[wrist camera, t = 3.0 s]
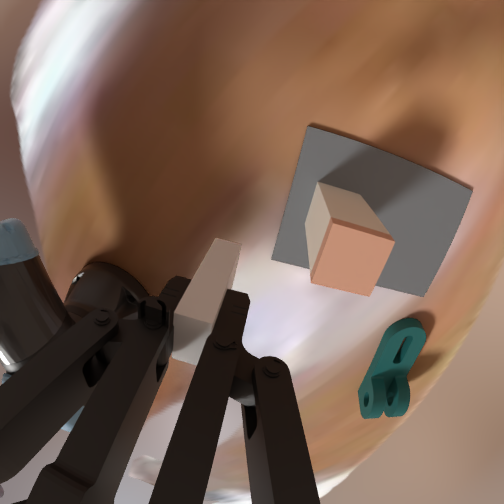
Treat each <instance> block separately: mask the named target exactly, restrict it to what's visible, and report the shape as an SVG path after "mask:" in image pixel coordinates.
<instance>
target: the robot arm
mask: <svg viewBox="0 0 504 504" xmlns="http://www.w3.org/2000/svg"><path fill="white" fill-rule="evenodd" d="M241 245H242V244H239V243H235V242H231V241H227V240H223V239H219V238H215V239H214V241H213V243H212V245H211V246H210V248H209V250H208V252H207V253H206V255H205V257H204V259H203V261H202V262H201V264H200V266H199V268H198V269H197V271H196V273H195V275H194V277H193V278H192V280H191V279H187V278H184V277H180V276H175V277H174V278H172V279H170V280H169V281H168V283H167V284H166V286H165V288H164V289H163V290H162V292H161V293H160V295H159V297H155V296H149V295H148V294H147V292H146V291H145V289H144V288H143V287H142V286H141V285H140V283H139V282H138V281H137V280H136V279H134V278H133V277H132V276H131V275H130V274H128V273H127V272H125V271H124V270H122V269H120V268H118V267H116V266H114V265H111V264H108V263H102V262H96V263H91V264H89V265H87V266H85V267H84V268H83V269H82V270H81V271H80V272H79V273H78V274H77V275H76V276H75V278H74V279H73V281H72V284H71V286H70V288H69V291H68V293H67V295H66V298H65V300H64V303H63V302H62V301H61V299H60V297H59V295H58V293H57V291H56V289H55V287H54V285H53V284H52V282H51V280H50V278H49V276H48V274H47V271H46V269H45V267H44V265H43V263H42V261H41V259H40V256H39V252H38V249H37V248H36V247H35V246H34V244H33V242H32V240H31V238H30V236H29V233H28V231H27V229H26V227H25V225H24V224H23V223H22V222H21V221H20V220H18V219H15V218H9V219H6V220H3V221H0V363H1V364H2V366H3V367H4V368H5V370H6V372H7V373H4V374H3V378H2V385H1V386H0V484H1V483H3V482H5V481H8V480H9V479H10V478H12V477H14V476H15V475H16V474H17V473H18V472H19V471H21V470H22V469H23V468H24V467H25V465H26V464H27V463H28V462H29V461H30V460H31V459H32V458H33V457H34V456H35V455H36V454H37V453H38V452H39V451H40V450H41V449H42V447H44V446H45V444H46V443H47V442H48V441H49V440H50V439H51V438H52V437H53V436H54V435H55V434H56V433H57V432H58V431H59V430H60V429H62V430H65V431H68V432H70V434H69V436H68V438H67V440H66V442H65V444H64V446H63V447H62V449H61V451H60V453H59V456H58V457H57V459H56V461H55V462H53V463H51V464H48V465H46V466H45V467H44V468H43V469H42V470H41V472H40V474H39V476H38V478H37V480H36V482H35V484H34V486H33V488H32V491H31V493H30V495H29V497H28V499H27V500H23V501H20V502H16V503H13V504H114V498H115V495H116V492H117V490H118V487H119V485H120V482H121V479H122V477H123V474H124V472H125V469H126V467H127V464H128V462H129V459H130V456H131V454H132V452H133V449H134V447H135V444H136V442H137V439H138V437H139V434H140V432H141V430H142V427H143V425H144V422H145V420H146V418H147V415H148V413H149V410H150V408H151V406H152V403H153V401H154V399H155V396H156V394H157V392H158V389H159V387H160V385H161V382H162V380H163V378H164V375H165V373H166V371H167V368H168V364H169V357H170V355H171V353H172V358H174V359H177V360H180V361H184V362H187V363H190V364H194V365H197V367H196V369H195V372H194V375H193V378H192V380H191V383H190V386H189V389H188V392H187V394H186V397H185V400H184V403H183V406H182V409H181V411H180V414H179V417H178V420H177V423H176V426H175V428H174V431H173V434H172V437H171V440H170V443H169V446H168V448H167V451H166V455H165V457H164V460H163V463H162V466H161V469H160V472H159V475H158V477H157V480H156V483H155V486H154V489H153V492H152V495H151V498H150V501H149V504H203V500H204V496H205V492H206V488H207V484H208V480H209V476H210V472H211V468H212V464H213V460H214V456H215V452H216V448H217V443H218V439H219V435H220V431H221V427H222V422H223V419H224V415H225V410H226V406H227V402H228V397H231V398H233V399H234V400H236V401H238V402H240V403H241V408H242V418H243V428H244V438H245V447H246V456H247V465H248V474H249V483H250V491H251V499H252V504H320V500H319V496H318V491H317V487H316V482H315V478H314V473H313V469H312V465H311V460H310V456H309V452H308V447H307V443H306V439H305V434H304V430H303V426H302V421H301V417H300V413H299V409H298V404H297V400H296V396H295V392H294V387H293V383H292V379H291V375H290V371H289V368H288V366H287V364H286V363H285V362H283V361H282V360H281V359H279V358H277V357H272V356H266V357H262V358H260V359H259V358H257V357H255V356H253V355H251V354H250V353H248V352H247V351H246V350H245V348H244V346H243V344H242V336H243V332H244V327H245V323H246V318H247V314H248V310H249V305H250V299H249V297H248V294H246V293H242V292H238V291H234V290H231V288H232V285H233V281H234V277H235V272H236V268H237V263H238V259H239V254H240V250H241ZM3 494H4V491H3V488H2V486H1V485H0V497H2V496H3Z"/></svg>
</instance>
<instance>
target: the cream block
mask: <svg viewBox="0 0 504 504" xmlns="http://www.w3.org/2000/svg"><path fill="white" fill-rule="evenodd" d="M305 229H306V238H307V247H308V257H309V267H310V277H311V283H313V284H317V285H322V286H326V287H330V288H334V289H338V290H343V291H347V292H351V293H355V294H360V295H364V296H368V297H369V296H370V295H371V293H372V291H373V289H374V287H375V285H376V283H377V281H378V278H379V276H380V274H381V272H382V270H383V268H384V266H385V264H386V262H387V259H388V257H389V255H390V253H391V251H392V248H393V246H394V244H395V241H394V239H393V238H392V236H391V235H390V233H389V232H388V231H387V229H386V228H385V227H384V225H383V224H382V222H381V221H380V220H379V218H378V217H377V216H376V214H375V213H374V212H373V210H372V209H371V208H370V206H369V205H368V204H367V202H366V201H365V200H364V199H363V197H362V196H361V195H360V194H357V193H354V192H351V191H347V190H344V189H341V188H338V187H334V186H331V185H328V184H324V183H321V182H317V185H316V188H315V192H314V195H313V198H312V202H311V205H310V208H309V211H308V215H307V218H306V221H305Z"/></svg>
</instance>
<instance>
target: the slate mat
mask: <svg viewBox="0 0 504 504" xmlns="http://www.w3.org/2000/svg"><path fill="white" fill-rule="evenodd" d="M317 182H321V183H324V184H328V185H331V186H334V187H338V188H341V189H344V190H347V191H351V192H354V193H357V194H360V195H361V196H362V197H363V199H364V200H365V201H366V202H367V204H368V205H369V206H370V208H371V209H372V210H373V212H374V213H375V214H376V216H377V217H378V218H379V220H380V221H381V222H382V224H383V225H384V227H385V228H386V229H387V231H388V232H389V233H390V235H391V236H392V238H393V239H394V241H395V244H394V246H393V248H392V251H391V253H390V255H389V257H388V259H387V262H386V264H385V266H384V268H383V270H382V272H381V274H380V276H379V278H378V281H377V283H376V286H380V287H384V288H388V289H392V290H396V291H400V292H404V293H408V294H412V295H416V296H420V297H424V295H425V293H426V292H427V290H428V288H429V286H430V284H431V282H432V281H433V279H434V277H435V275H436V273H437V271H438V269H439V267H440V265H441V263H442V261H443V259H444V257H445V255H446V253H447V251H448V249H449V247H450V245H451V243H452V241H453V238H454V236H455V234H456V232H457V229H458V227H459V225H460V222H461V220H462V218H463V215H464V213H465V210H466V208H467V205H468V202H469V200H470V197H471V194H472V192H473V191H471V190H469V189H468V188H466V187H464V186H462V185H460V184H458V183H456V182H454V181H452V180H450V179H448V178H446V177H444V176H442V175H440V174H437V173H435V172H433V171H431V170H429V169H426V168H424V167H422V166H420V165H417V164H415V163H413V162H410V161H408V160H406V159H403V158H401V157H398V156H396V155H393V154H391V153H388V152H386V151H383V150H380V149H378V148H375V147H372V146H369V145H367V144H364V143H361V142H358V141H355V140H352V139H349V138H346V137H343V136H340V135H337V134H334V133H330V132H327V131H324V130H320V129H317V128H313V127H310V126H307V130H306V134H305V138H304V142H303V145H302V149H301V153H300V157H299V161H298V164H297V168H296V172H295V175H294V179H293V183H292V186H291V190H290V194H289V197H288V201H287V205H286V208H285V212H284V216H283V219H282V223H281V226H280V230H279V233H278V237H277V241H276V244H275V248H274V251H273V255H272V259H271V260H275V261H279V262H283V263H287V264H291V265H295V266H299V267H303V268H307V269H310V267H309V257H308V247H307V238H306V229H305V221H306V218H307V215H308V211H309V208H310V205H311V202H312V198H313V195H314V192H315V188H316V185H317Z"/></svg>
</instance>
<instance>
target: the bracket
mask: <svg viewBox="0 0 504 504" xmlns="http://www.w3.org/2000/svg"><path fill="white" fill-rule="evenodd" d="M405 337H406V339H405V341H404V343H403V345H402V347H401V349H400V351H399V352H398V350H399V348H400V346H401V344H402V341H403V339H404V338H405ZM425 341H426V333H425V331H424V329H423V327H422V324H421V323H420V321H418V320H417V319H414V318H405V319H401V320H399V321H397V322H395V323H393V324H392V325H391V326H390V327H388V329H387V330H386V331H385V333H384V335H383V337H382V340H381V342H380V344H379V347H378V349H377V351H376V354H375V356H374V358H373V360H372V363H371V365H370V367H369V369H368V371H367V373H366V375H365V377H364V380H363V382H362V384H361V386H360V388H359V390H358V396H359V404H360V411H361V415H362V417H363V418H364V419H369V418H379V417H380V416H381V415H382V413H383V411H384V413H385V415H386V416H387V417H397V416H403V415H404V414H405V413H406V411H407V409H408V406H409V402H410V388H409V384H408V380H407V374H408V372H409V371H410V369H411V367H412V365H413V364H414V362H415V360H416V358H417V357H418V355H419V353H420V351H421V349H422V347H423V345H424V343H425ZM397 352H398V353H397Z"/></svg>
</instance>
